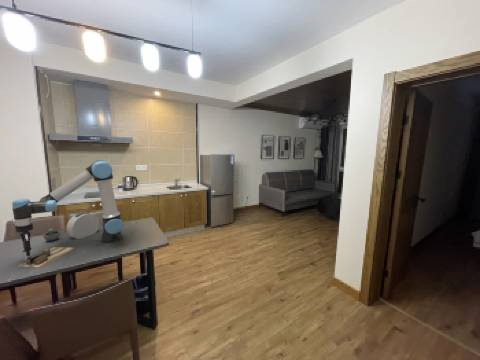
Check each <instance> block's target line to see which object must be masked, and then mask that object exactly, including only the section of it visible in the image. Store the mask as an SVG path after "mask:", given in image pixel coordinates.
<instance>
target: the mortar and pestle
mask: <svg viewBox="0 0 480 360" xmlns="http://www.w3.org/2000/svg"><path fill="white" fill-rule="evenodd" d="M47 231H48V232H45V233H43V239H44V240H45V241H47V242H50V243H51V242H55V241H57V240H58V239H60V237H61V230H54V229H53V228H49V229H48V230H47Z"/></svg>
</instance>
